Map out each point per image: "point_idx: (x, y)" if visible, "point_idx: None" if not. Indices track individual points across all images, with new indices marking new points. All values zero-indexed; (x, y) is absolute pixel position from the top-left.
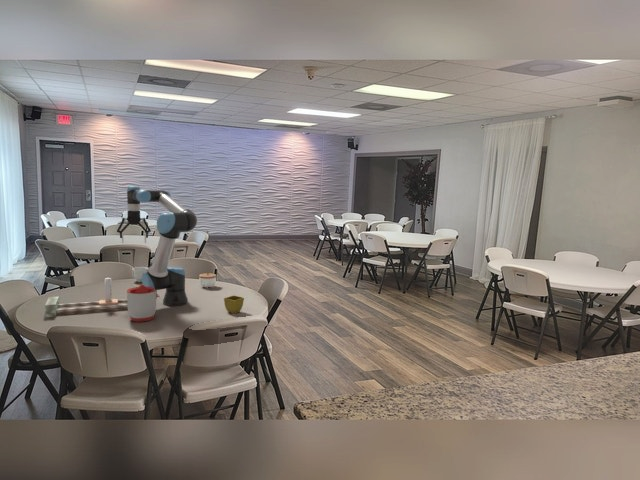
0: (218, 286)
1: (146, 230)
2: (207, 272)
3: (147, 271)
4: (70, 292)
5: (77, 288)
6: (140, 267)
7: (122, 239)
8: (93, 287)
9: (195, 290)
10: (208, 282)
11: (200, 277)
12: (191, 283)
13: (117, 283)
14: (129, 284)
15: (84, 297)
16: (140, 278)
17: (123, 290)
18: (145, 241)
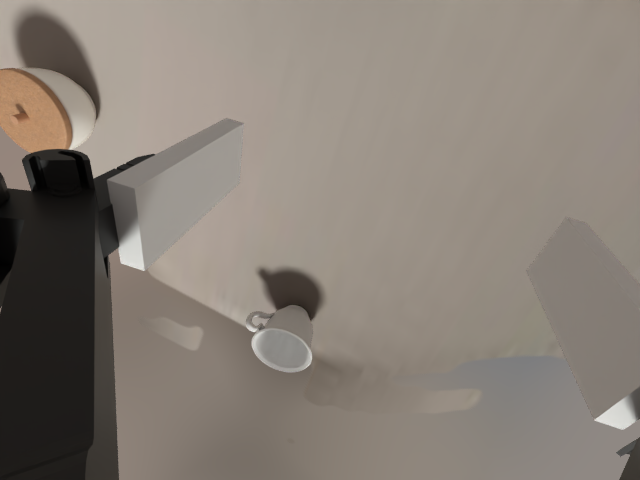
0: None
1: (35, 216)
2: (15, 122)
3: (262, 324)
4: None
5: (520, 341)
6: (275, 366)
7: (612, 260)
8: (467, 324)
9: (127, 68)
10: (46, 70)
11: (64, 109)
12: None
13: (373, 327)
14: (342, 296)
15: (585, 209)
16: (296, 311)
17: (394, 231)
18: (225, 126)
